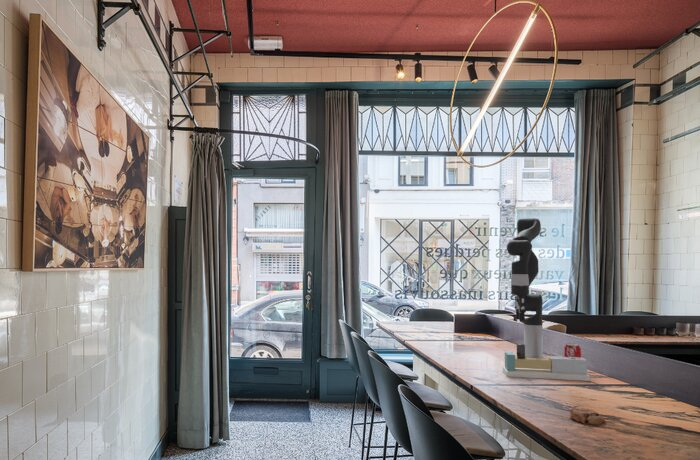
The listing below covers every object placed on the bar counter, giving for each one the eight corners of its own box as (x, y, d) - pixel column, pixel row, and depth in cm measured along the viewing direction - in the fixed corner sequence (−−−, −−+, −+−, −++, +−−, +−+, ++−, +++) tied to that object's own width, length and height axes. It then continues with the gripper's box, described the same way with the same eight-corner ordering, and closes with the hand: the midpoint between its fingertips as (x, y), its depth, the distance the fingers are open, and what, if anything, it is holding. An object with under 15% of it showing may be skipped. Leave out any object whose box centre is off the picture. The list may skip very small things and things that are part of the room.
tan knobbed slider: (508, 365, 212) (508, 343, 213) (556, 368, 208) (556, 345, 209) (510, 367, 208) (509, 344, 209) (559, 370, 205) (558, 346, 205)
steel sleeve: (548, 369, 210) (548, 356, 210) (582, 371, 207) (582, 357, 208) (552, 372, 204) (551, 358, 204) (587, 374, 201) (586, 360, 202)
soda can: (584, 372, 215) (583, 345, 215) (568, 372, 215) (568, 345, 216) (577, 368, 222) (576, 343, 223) (562, 368, 222) (561, 342, 223)
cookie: (592, 414, 154) (592, 405, 154) (611, 425, 143) (610, 415, 144) (562, 414, 154) (562, 405, 154) (579, 425, 143) (579, 415, 143)
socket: (504, 366, 214) (504, 351, 215) (512, 367, 214) (512, 351, 214) (507, 370, 206) (507, 354, 207) (515, 371, 206) (515, 355, 206)
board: (502, 370, 216) (502, 365, 216) (581, 374, 210) (581, 369, 210) (506, 376, 204) (506, 371, 205) (590, 380, 198) (590, 376, 198)
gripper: (508, 283, 220) (509, 318, 218) (513, 284, 206) (514, 322, 204) (525, 283, 218) (526, 319, 217) (531, 285, 204) (532, 322, 203)
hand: (520, 320), depth 211 cm, fingers open, 8 cm apart
